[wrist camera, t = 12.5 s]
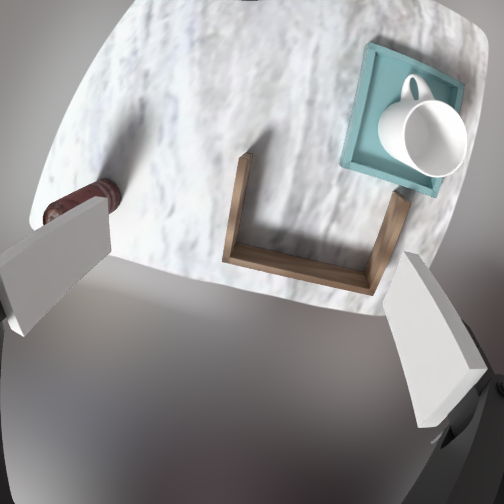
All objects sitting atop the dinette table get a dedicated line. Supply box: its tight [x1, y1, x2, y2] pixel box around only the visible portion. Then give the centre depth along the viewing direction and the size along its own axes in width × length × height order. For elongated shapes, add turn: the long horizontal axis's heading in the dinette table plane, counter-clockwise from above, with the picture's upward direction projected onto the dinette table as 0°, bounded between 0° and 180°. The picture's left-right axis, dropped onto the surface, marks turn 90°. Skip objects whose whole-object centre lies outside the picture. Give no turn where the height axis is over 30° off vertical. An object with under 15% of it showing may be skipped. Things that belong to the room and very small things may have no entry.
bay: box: [222, 153, 411, 296], centre depth 40 cm, size 15×23×5 cm, turn 80°
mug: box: [378, 74, 468, 178], centre depth 28 cm, size 9×12×11 cm
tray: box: [339, 42, 465, 198], centre depth 32 cm, size 18×15×3 cm
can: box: [43, 179, 120, 225], centre depth 39 cm, size 6×6×14 cm
